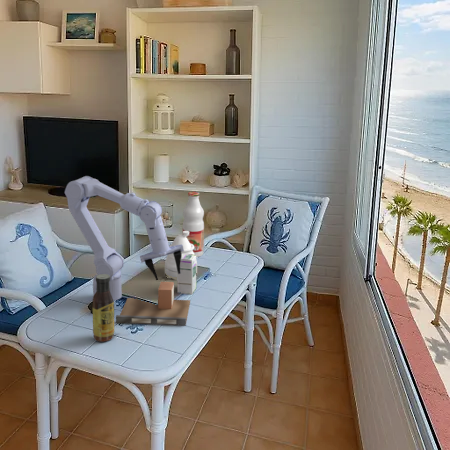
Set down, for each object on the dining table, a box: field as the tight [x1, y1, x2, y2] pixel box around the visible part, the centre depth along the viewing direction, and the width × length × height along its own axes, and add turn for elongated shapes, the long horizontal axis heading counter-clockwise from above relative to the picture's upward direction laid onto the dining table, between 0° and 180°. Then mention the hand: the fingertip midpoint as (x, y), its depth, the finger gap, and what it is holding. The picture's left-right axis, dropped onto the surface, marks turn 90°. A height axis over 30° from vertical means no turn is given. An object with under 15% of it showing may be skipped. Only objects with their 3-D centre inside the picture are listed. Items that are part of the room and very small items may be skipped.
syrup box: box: [176, 254, 197, 296], centre depth 179 cm, size 6×6×14 cm
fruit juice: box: [182, 191, 205, 258], centre depth 216 cm, size 9×9×28 cm
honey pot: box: [164, 230, 198, 277], centre depth 196 cm, size 13×13×18 cm
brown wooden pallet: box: [115, 297, 191, 327], centre depth 164 cm, size 22×18×3 cm
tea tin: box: [157, 281, 175, 309], centre depth 168 cm, size 4×6×7 cm
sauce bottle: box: [92, 274, 115, 343], centre depth 147 cm, size 6×6×20 cm
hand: (168, 276), depth 167 cm, fingers open, 7 cm apart
